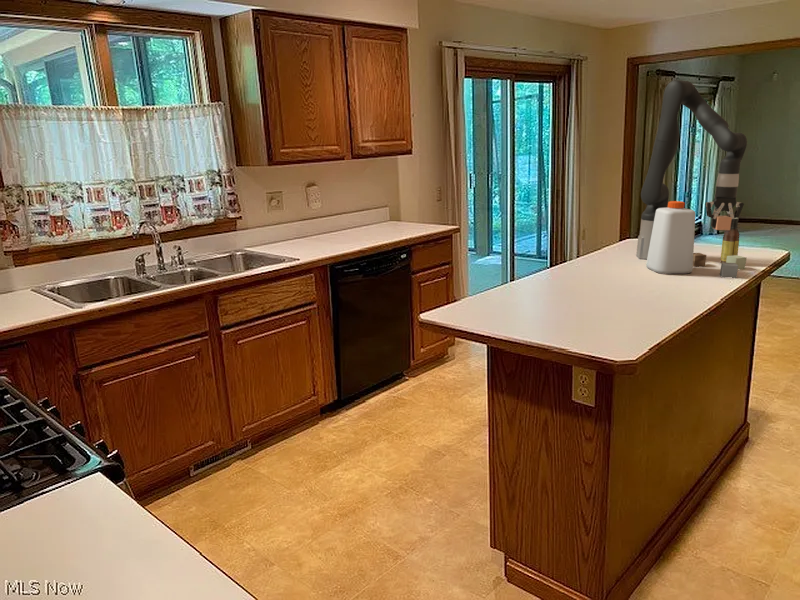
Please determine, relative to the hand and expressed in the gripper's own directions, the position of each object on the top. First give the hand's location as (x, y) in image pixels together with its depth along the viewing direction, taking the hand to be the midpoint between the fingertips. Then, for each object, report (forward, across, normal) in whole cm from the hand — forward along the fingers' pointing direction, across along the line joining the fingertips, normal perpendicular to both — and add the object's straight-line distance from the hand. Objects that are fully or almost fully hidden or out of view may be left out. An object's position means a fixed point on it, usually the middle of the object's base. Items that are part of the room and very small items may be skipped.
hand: (721, 227), depth 237 cm
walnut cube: (+17, +5, -8) cm, 20 cm away
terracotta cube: (0, 0, 0) cm, 0 cm away
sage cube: (+17, -9, -4) cm, 20 cm away
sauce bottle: (+18, -9, -12) cm, 23 cm away
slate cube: (+17, -1, +11) cm, 21 cm away
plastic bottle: (+18, +19, +3) cm, 26 cm away
